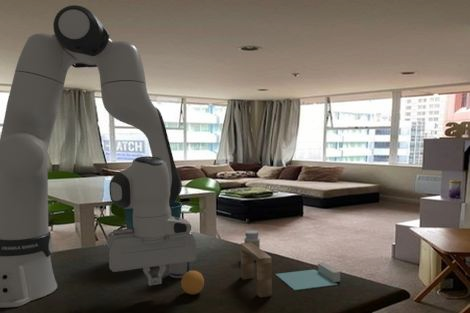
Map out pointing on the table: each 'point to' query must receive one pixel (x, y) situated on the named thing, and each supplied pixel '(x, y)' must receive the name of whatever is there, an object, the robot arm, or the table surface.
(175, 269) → the energy drink
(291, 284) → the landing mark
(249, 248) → the bridge
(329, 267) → the wall
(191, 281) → the ball
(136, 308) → the table surface
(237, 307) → the table surface
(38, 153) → the robot arm
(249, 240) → the supplement bottle
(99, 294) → the table surface
